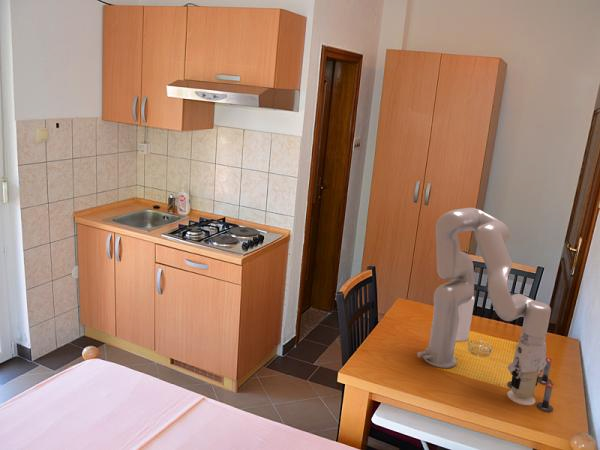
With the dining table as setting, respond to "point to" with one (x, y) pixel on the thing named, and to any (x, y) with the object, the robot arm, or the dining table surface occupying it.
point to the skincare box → (526, 384)
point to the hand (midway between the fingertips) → (523, 385)
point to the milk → (464, 320)
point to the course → (549, 385)
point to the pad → (521, 399)
